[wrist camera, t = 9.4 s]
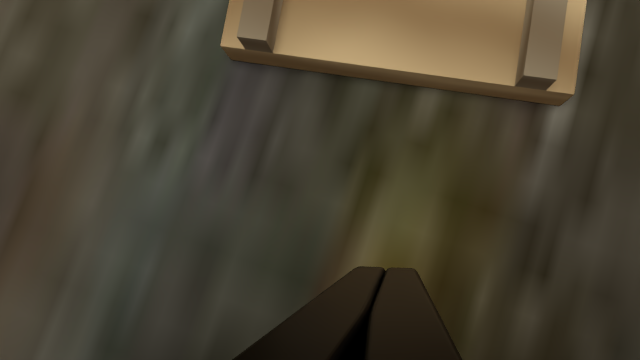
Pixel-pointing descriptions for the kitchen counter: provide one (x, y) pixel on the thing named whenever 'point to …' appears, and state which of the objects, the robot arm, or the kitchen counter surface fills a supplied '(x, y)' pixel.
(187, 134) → the kitchen counter surface
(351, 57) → the maple mount
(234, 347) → the kitchen counter surface
